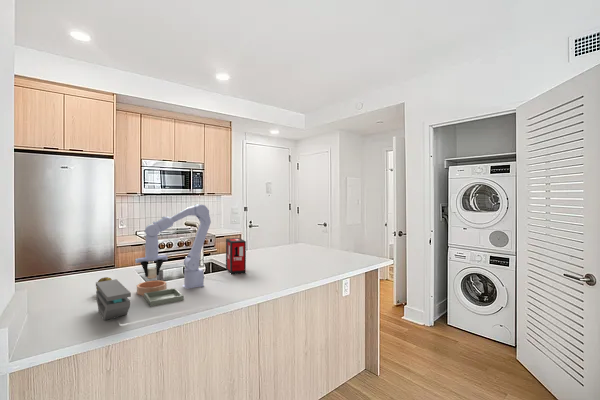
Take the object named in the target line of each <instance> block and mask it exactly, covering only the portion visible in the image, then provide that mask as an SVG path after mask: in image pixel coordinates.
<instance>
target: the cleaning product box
mask: <svg viewBox="0 0 600 400" xmlns="http://www.w3.org/2000/svg"><path fill="white" fill-rule="evenodd" d="M246 243H247V241H245V240H244V239H242V238H240V237H233V238H231V237H230V238H225V269H226V270H227V272H228V273H229V272H230V273H231V274H230V273H229V274H230V275H232V274H233V275H241V273H243V274H246V271H247V270H246V269H247V268H246V267H247V266H246V263H247V262H246V259H247V257H246V255H247V253H246V251H247V249H246V248H247V245H246Z"/></svg>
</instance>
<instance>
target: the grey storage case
mask: <svg viewBox="0 0 600 400" xmlns="http://www.w3.org/2000/svg"><path fill="white" fill-rule="evenodd" d="M95 287H97V288H98V290H97V289H96V294H95V295H96V302H97V309H98V313H99V315H100V316H101V318H102V320H103V321H108V320H112V319H116V318H118V317H120V316H121V317H122V316H125V315H128V313H129V310H130V308H131V300H130V299H129V298H131V296H132V293H131V292H130V290H128V289H127V287H125V286H124V285H123V284H122V283H121V282H120V281H119V280H118V279H112V280H108V281H102V282H98V281H96V282H95Z"/></svg>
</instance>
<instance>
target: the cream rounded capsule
mask: <svg viewBox="0 0 600 400" xmlns="http://www.w3.org/2000/svg"><path fill="white" fill-rule="evenodd" d="M147 272H148V277H146V278H147V279H156V278H158V275H157V268H156V267H148V268H147Z"/></svg>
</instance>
